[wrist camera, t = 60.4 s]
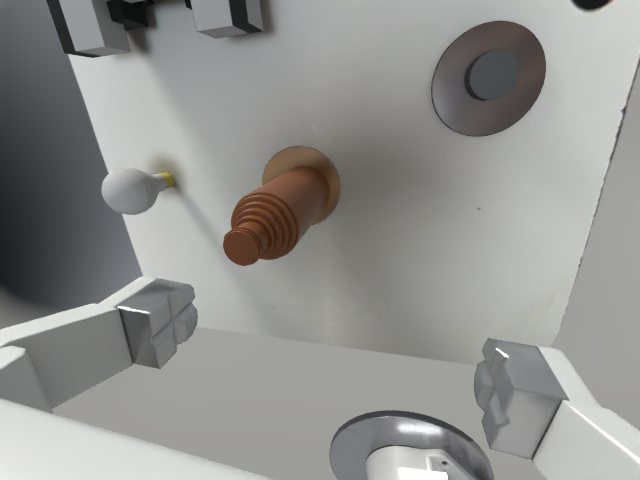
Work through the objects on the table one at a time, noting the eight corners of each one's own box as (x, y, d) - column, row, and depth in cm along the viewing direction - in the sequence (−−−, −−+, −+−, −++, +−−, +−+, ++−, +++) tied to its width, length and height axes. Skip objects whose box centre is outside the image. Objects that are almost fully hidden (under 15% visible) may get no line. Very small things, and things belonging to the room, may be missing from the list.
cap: (457, 94, 31) (461, 93, 29) (476, 47, 29) (482, 42, 27) (498, 105, 30) (505, 105, 28) (520, 59, 29) (530, 55, 27)
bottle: (339, 187, 37) (296, 246, 21) (310, 223, 40) (253, 299, 24) (299, 154, 37) (225, 190, 21) (272, 193, 40) (189, 251, 24)
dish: (569, 63, 28) (572, 62, 28) (486, 155, 33) (488, 155, 32) (482, -2, 28) (484, -4, 28) (410, 100, 33) (410, 100, 32)
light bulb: (186, 203, 44) (132, 227, 35) (152, 190, 44) (90, 211, 35) (190, 166, 41) (133, 182, 33) (154, 153, 42) (88, 165, 33)
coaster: (356, 177, 37) (355, 178, 36) (313, 238, 41) (312, 240, 41) (287, 129, 37) (285, 129, 36) (251, 195, 41) (249, 196, 41)
